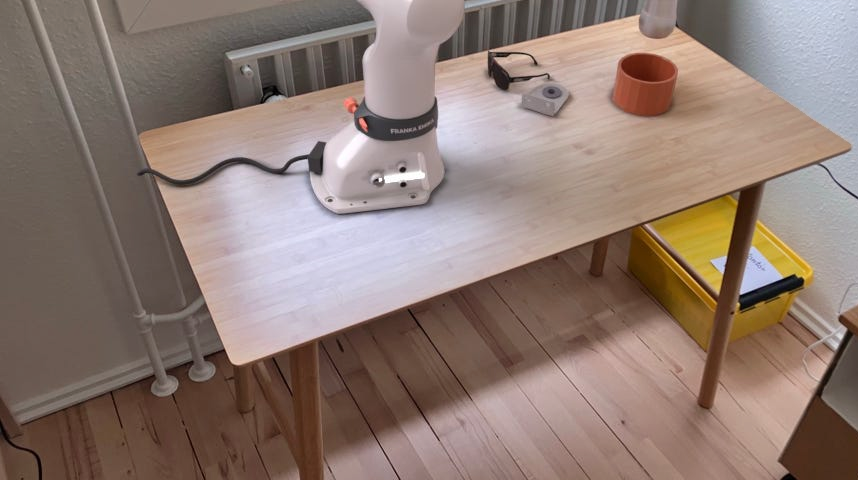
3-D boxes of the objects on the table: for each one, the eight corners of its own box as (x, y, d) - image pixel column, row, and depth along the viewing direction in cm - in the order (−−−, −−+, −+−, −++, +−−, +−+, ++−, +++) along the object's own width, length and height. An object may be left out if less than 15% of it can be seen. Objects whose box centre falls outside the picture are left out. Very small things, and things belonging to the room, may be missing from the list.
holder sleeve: (632, 120, 156) (638, 88, 151) (602, 90, 163) (607, 58, 158) (682, 109, 160) (689, 76, 155) (650, 80, 167) (656, 48, 162)
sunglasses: (478, 69, 167) (481, 46, 164) (530, 65, 172) (535, 43, 169) (499, 95, 160) (504, 72, 157) (553, 91, 165) (559, 68, 162)
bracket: (573, 93, 162) (575, 77, 160) (552, 118, 156) (554, 102, 153) (542, 84, 164) (544, 68, 162) (520, 108, 158) (522, 92, 155)
